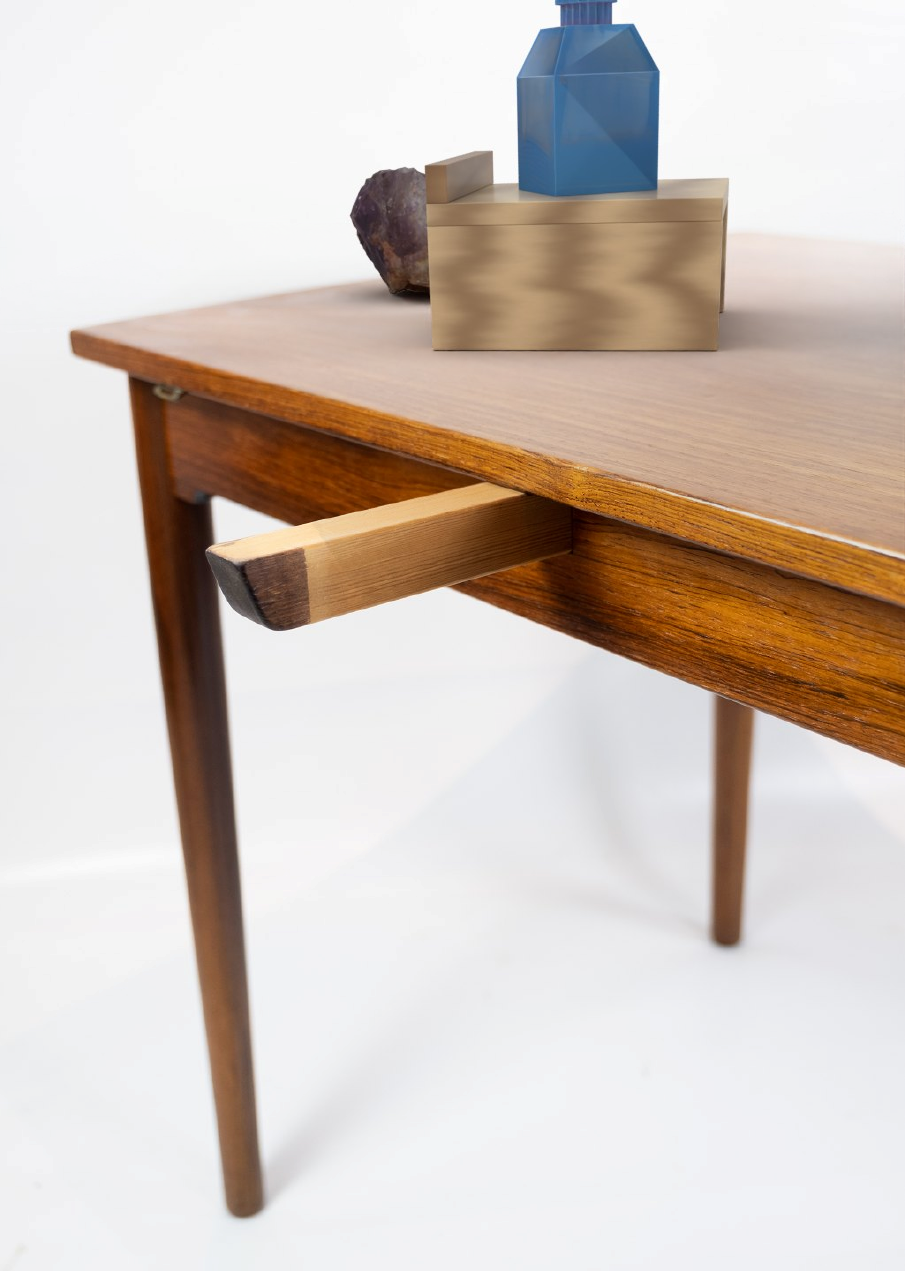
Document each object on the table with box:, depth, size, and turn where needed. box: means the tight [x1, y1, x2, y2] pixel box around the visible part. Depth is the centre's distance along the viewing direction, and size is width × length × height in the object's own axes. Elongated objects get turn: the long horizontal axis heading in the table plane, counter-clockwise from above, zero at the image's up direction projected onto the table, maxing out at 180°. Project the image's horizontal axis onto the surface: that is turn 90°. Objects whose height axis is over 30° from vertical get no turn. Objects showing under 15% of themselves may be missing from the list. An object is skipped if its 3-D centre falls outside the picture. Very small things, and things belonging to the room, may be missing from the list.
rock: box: [349, 166, 430, 295], centre depth 96 cm, size 12×9×10 cm
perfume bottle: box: [516, 0, 661, 196], centre depth 75 cm, size 6×6×12 cm
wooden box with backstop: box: [424, 150, 730, 352], centre depth 79 cm, size 16×14×10 cm
